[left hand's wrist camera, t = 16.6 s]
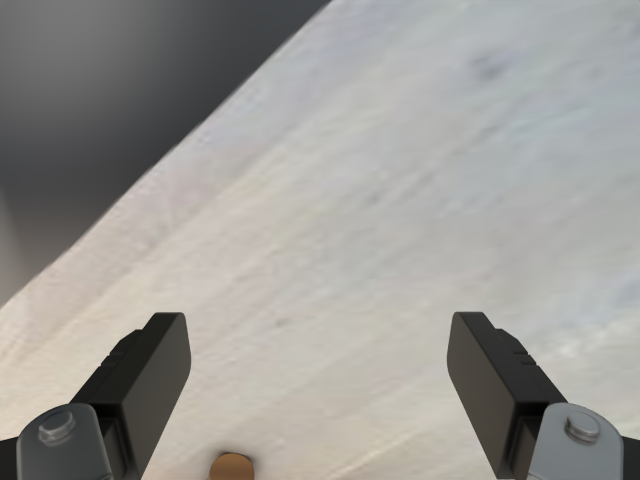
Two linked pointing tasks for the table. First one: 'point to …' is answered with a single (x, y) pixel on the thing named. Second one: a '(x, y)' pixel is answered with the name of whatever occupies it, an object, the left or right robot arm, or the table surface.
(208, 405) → the table surface
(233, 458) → the rod
